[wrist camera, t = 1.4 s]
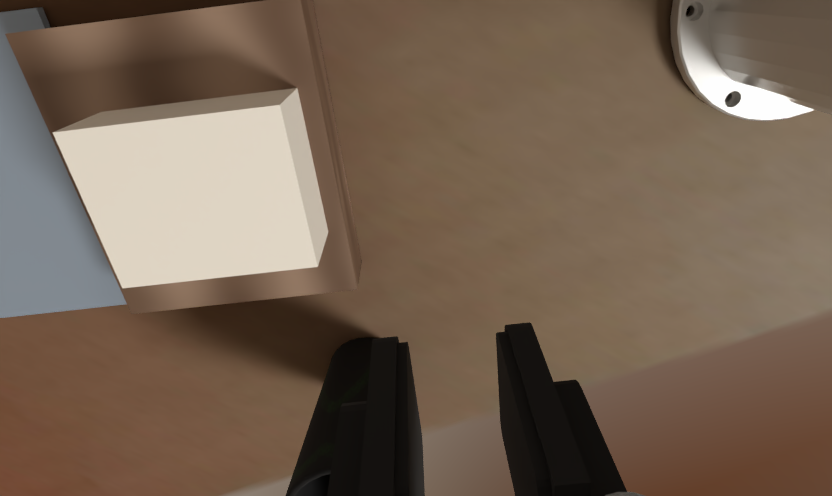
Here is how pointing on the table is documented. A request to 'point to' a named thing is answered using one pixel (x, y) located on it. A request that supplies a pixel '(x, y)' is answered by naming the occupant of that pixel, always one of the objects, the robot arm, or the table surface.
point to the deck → (195, 80)
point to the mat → (41, 205)
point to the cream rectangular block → (200, 187)
